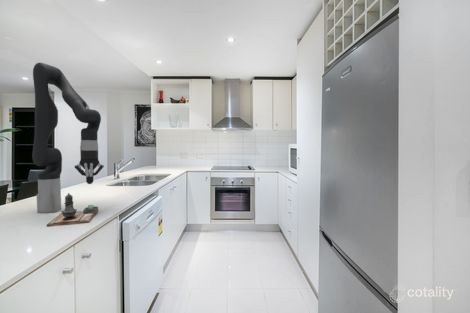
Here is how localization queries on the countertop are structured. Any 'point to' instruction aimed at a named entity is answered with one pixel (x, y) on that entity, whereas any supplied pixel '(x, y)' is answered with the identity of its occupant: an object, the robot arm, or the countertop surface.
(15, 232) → the countertop surface
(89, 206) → the button
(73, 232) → the countertop surface
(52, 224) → the picture board
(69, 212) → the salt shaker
